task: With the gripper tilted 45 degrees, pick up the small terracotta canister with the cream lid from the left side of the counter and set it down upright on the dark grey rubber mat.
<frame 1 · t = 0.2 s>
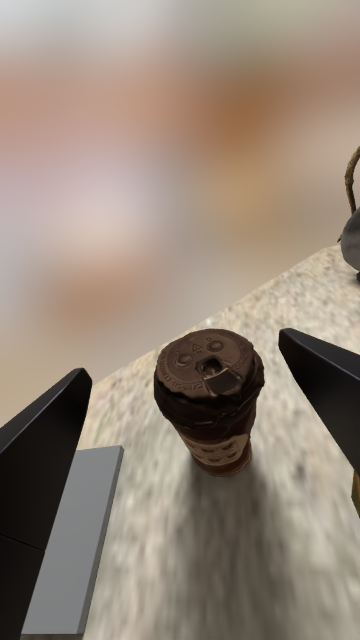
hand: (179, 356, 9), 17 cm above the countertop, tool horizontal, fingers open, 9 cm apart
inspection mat: (49, 521, 18), on the countertop
coffee cup: (220, 444, 20), on the countertop
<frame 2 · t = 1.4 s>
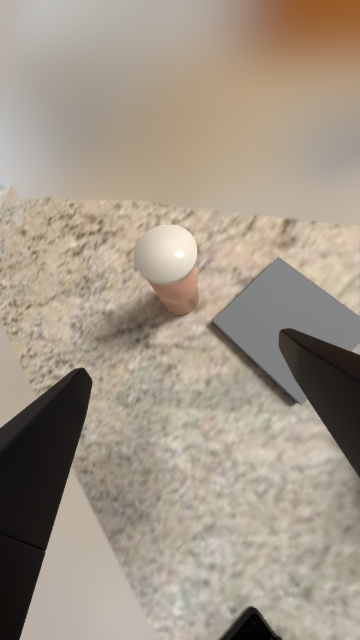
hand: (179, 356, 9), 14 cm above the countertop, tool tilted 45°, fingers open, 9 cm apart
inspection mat: (285, 325, 21), on the countertop
terracotta canister: (180, 298, 24), on the countertop
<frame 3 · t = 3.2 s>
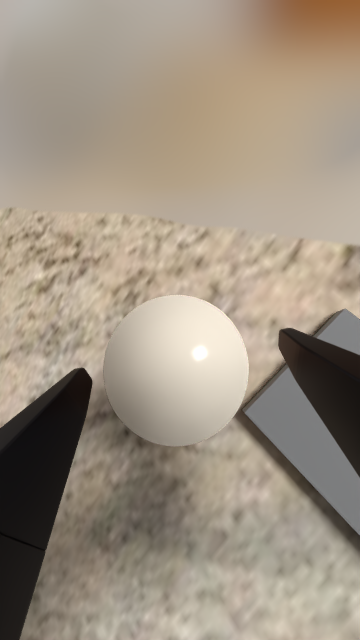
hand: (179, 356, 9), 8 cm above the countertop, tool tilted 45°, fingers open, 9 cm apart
terracotta canister: (191, 365, 16), on the countertop
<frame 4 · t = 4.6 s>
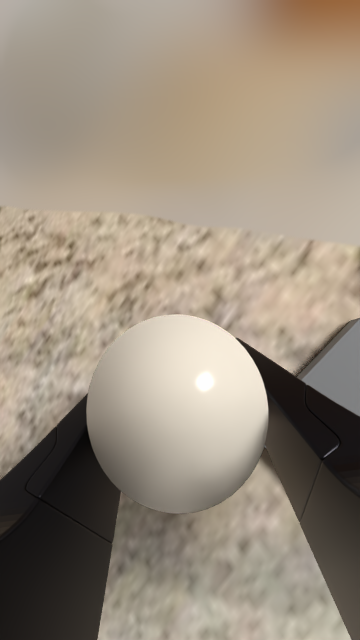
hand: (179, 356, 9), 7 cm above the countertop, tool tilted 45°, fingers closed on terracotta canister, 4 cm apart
terracotta canister: (193, 378, 15), on the countertop, touching gripper
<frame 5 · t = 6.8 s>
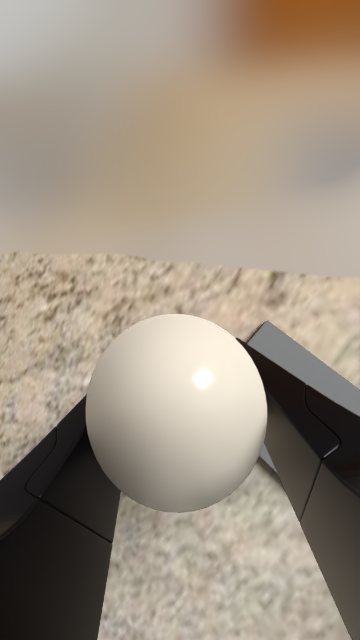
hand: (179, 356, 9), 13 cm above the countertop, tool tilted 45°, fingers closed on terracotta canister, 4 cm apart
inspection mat: (279, 398, 20), on the countertop
terracotta canister: (193, 378, 15), point 7 cm above the countertop, touching gripper
when the fingers open (9 cm above the countertop, at t = 9.1 s): terracotta canister drops 1 cm, resting on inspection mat.
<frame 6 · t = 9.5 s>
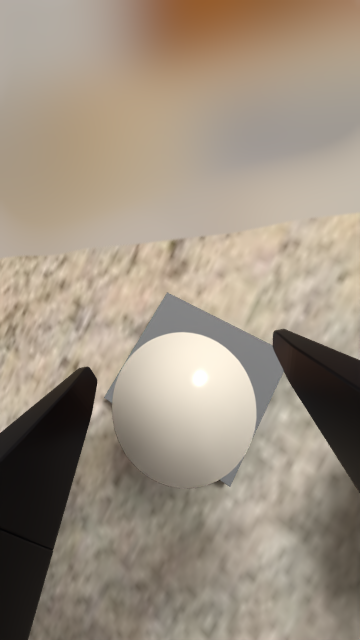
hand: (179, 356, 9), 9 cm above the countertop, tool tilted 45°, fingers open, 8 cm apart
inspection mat: (195, 376, 17), on the countertop
terracotta canister: (194, 377, 16), point 1 cm above the countertop, touching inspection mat
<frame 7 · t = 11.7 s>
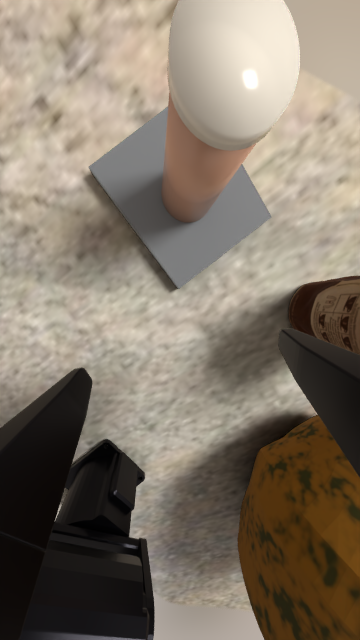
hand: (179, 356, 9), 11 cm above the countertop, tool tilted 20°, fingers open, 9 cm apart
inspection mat: (185, 199, 17), on the countertop
decorative pumpkin: (293, 464, 25), on the countertop
terracotta canister: (187, 194, 16), point 1 cm above the countertop, touching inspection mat
coffee cup: (309, 310, 21), on the countertop
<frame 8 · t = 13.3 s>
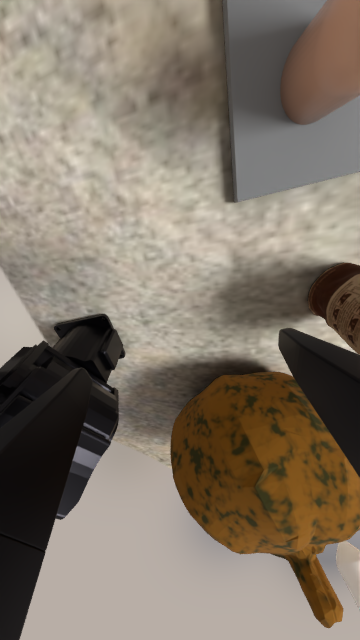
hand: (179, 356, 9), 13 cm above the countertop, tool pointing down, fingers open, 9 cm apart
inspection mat: (306, 84, 13), on the countertop
champagne flute: (313, 485, 50), on the countertop
decorative pumpkin: (235, 396, 31), on the countertop
terracotta canister: (315, 77, 12), point 1 cm above the countertop, touching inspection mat
coffee cup: (331, 290, 22), on the countertop
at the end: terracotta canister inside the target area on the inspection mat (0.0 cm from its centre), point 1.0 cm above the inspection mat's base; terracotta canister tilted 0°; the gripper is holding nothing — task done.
